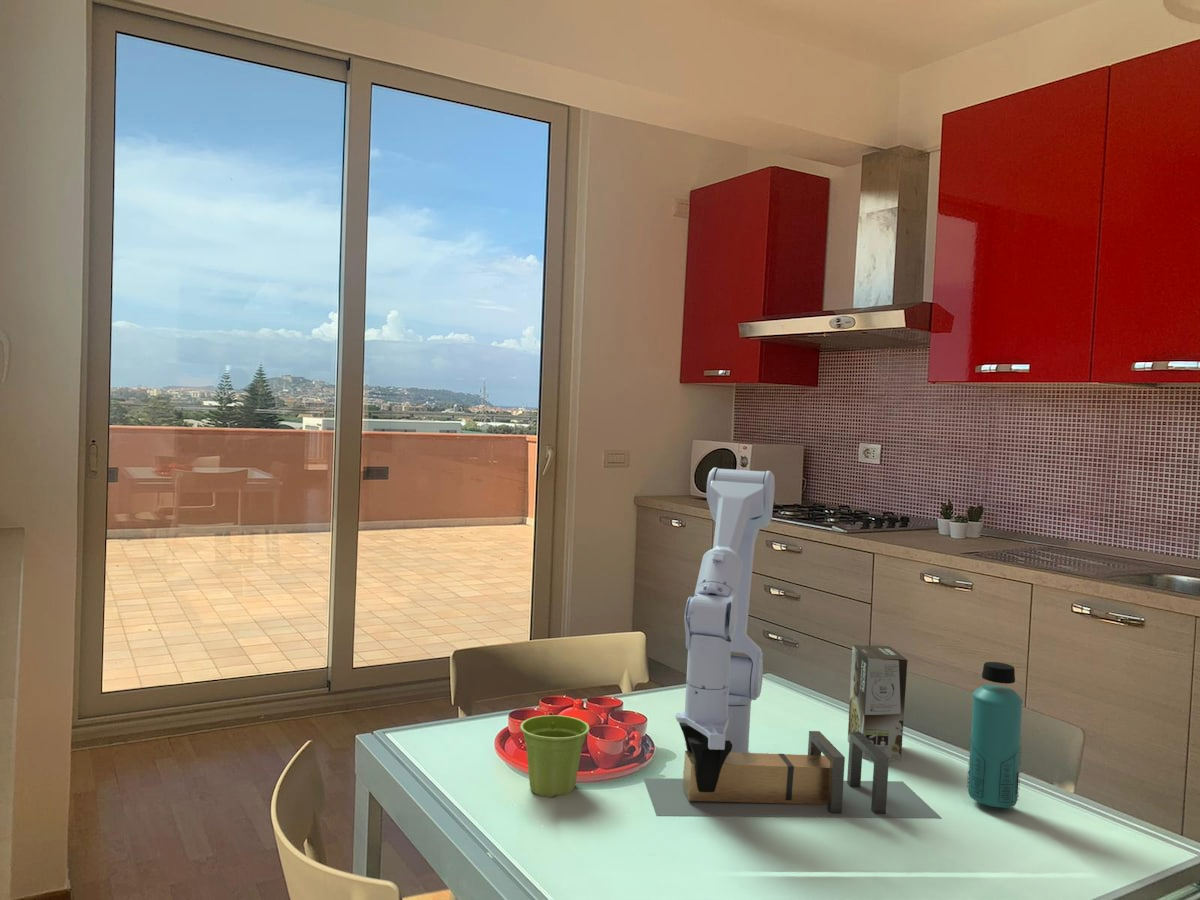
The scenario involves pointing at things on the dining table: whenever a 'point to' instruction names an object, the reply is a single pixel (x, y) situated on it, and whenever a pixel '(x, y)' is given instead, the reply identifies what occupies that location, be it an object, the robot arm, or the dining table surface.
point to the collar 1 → (836, 774)
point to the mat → (855, 804)
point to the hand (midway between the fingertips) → (702, 783)
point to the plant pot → (553, 752)
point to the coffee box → (878, 697)
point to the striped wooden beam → (764, 779)
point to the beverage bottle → (995, 739)
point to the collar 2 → (879, 772)
